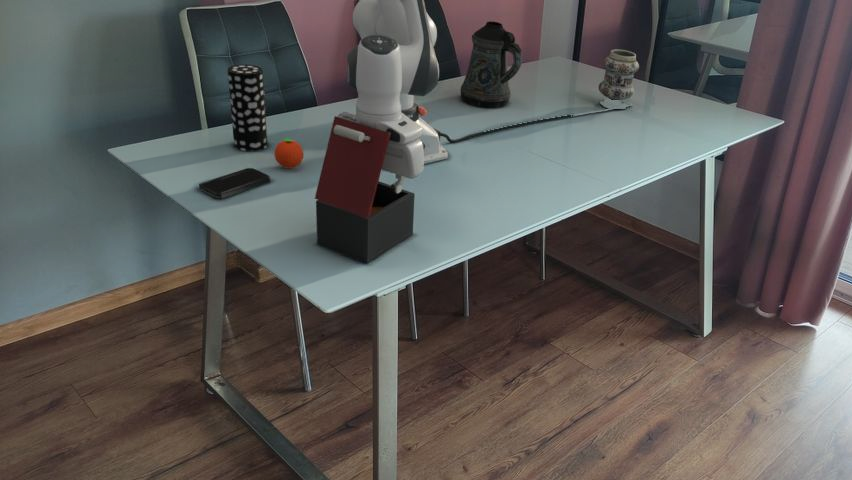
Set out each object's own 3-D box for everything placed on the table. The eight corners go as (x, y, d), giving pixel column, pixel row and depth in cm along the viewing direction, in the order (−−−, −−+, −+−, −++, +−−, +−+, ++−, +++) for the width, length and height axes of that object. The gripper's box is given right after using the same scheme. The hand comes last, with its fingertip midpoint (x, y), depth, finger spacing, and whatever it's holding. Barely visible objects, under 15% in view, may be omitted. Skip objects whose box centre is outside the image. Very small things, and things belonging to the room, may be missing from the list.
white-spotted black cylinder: (258, 153, 194) (252, 76, 184) (228, 148, 195) (221, 70, 185) (273, 142, 201) (268, 67, 191) (243, 137, 202) (237, 62, 192)
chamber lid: (337, 116, 149) (321, 112, 145) (391, 133, 144) (377, 129, 140) (316, 198, 152) (301, 197, 148) (369, 217, 147) (354, 217, 143)
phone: (272, 177, 180) (218, 195, 169) (272, 181, 180) (218, 199, 170) (250, 167, 183) (196, 184, 173) (250, 171, 184) (196, 188, 173)
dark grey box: (364, 217, 170) (365, 176, 164) (412, 235, 165) (414, 193, 160) (317, 244, 157) (315, 200, 152) (367, 264, 152) (368, 219, 147)
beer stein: (464, 89, 257) (470, 13, 244) (521, 98, 256) (530, 21, 243) (455, 104, 243) (461, 24, 230) (515, 113, 241) (524, 33, 229)
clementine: (272, 161, 191) (270, 134, 187) (300, 159, 194) (299, 132, 190) (277, 173, 185) (276, 146, 181) (306, 171, 187) (305, 144, 184)
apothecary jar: (633, 113, 254) (643, 59, 244) (597, 109, 253) (606, 55, 244) (628, 101, 264) (638, 49, 255) (594, 98, 264) (603, 46, 254)
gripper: (326, 113, 152) (328, 176, 159) (411, 138, 145) (409, 204, 152) (346, 105, 157) (347, 167, 164) (429, 130, 150) (426, 193, 157)
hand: (377, 185), depth 158 cm, fingers open, 8 cm apart
